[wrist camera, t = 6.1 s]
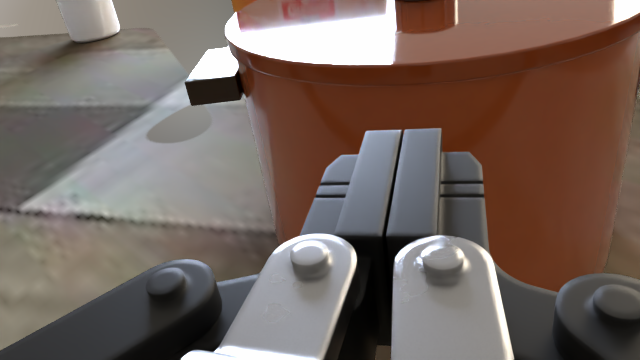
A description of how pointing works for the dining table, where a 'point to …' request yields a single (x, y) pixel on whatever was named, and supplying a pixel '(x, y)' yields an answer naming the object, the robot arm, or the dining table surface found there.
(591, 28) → the pot
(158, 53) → the dining table surface
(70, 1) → the can
